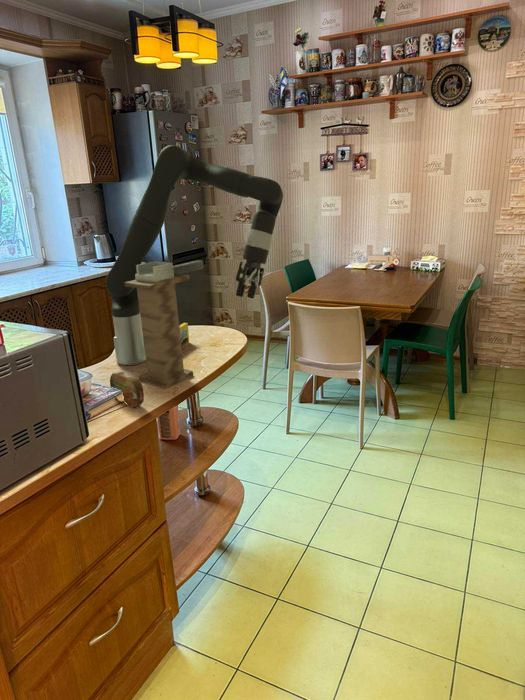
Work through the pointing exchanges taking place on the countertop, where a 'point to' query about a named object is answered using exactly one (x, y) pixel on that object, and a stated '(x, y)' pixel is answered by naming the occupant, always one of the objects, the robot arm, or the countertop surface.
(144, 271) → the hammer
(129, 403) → the tin
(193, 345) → the countertop surface
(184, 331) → the candy box
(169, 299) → the stand
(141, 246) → the robot arm
